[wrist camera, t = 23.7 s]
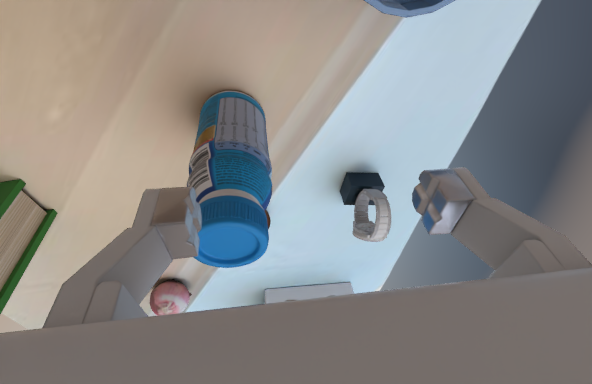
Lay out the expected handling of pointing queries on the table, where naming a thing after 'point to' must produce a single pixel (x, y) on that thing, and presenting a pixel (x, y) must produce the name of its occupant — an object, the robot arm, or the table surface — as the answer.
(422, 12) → the bowl
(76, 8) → the table surface
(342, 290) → the gable box
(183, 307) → the onion
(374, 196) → the watch
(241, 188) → the beverage bottle
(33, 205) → the hardback book
